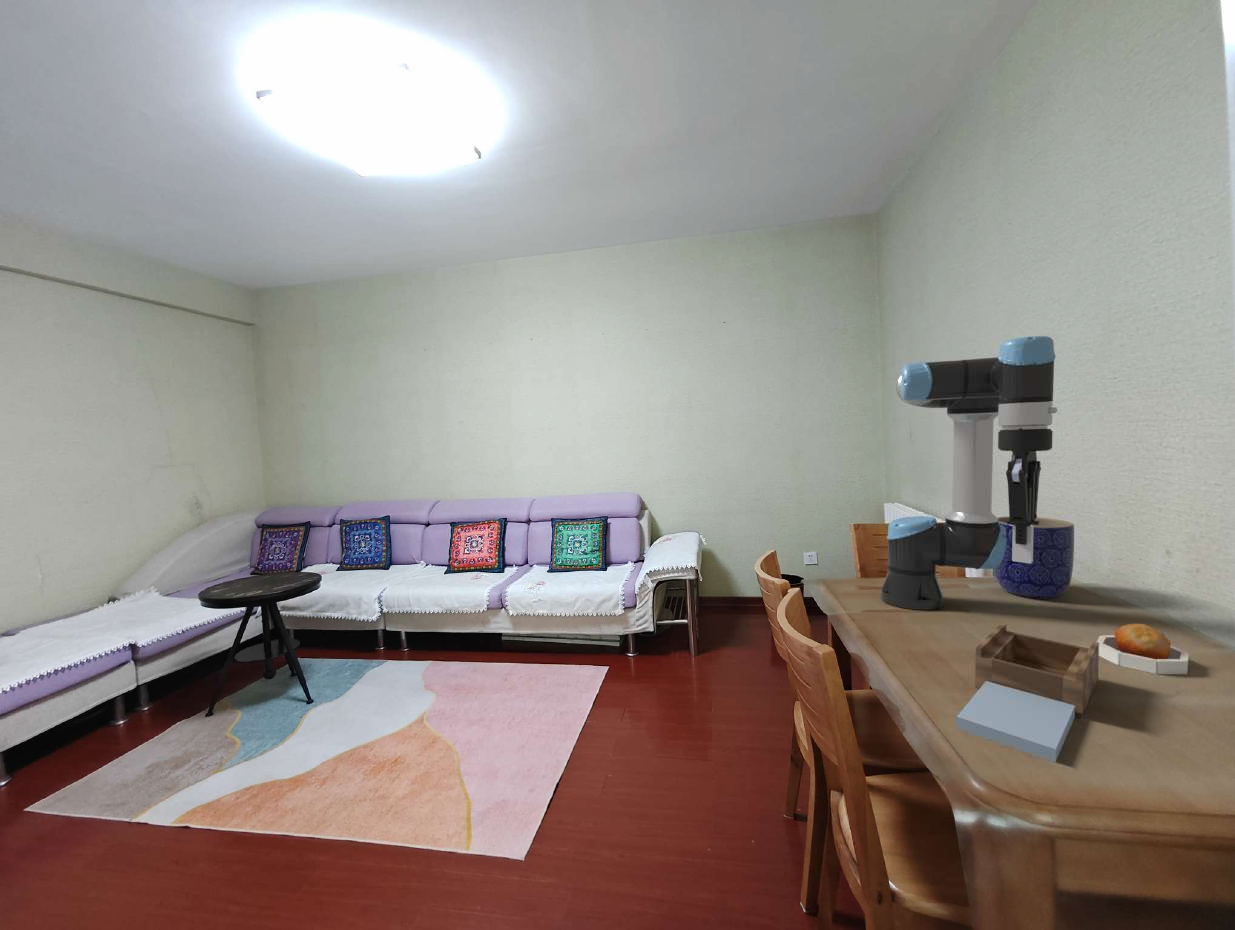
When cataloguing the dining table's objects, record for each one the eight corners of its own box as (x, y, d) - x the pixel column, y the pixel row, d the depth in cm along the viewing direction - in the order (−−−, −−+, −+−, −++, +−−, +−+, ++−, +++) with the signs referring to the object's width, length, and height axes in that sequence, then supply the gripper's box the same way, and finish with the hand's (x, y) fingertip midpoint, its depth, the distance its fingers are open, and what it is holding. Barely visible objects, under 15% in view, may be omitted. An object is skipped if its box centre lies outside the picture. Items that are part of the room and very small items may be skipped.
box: (1001, 658, 110) (1001, 622, 110) (1097, 681, 99) (1098, 642, 99) (975, 687, 98) (975, 647, 98) (1081, 718, 87) (1082, 673, 87)
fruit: (1148, 643, 112) (1161, 618, 108) (1168, 676, 106) (1184, 651, 101) (1100, 639, 115) (1112, 615, 110) (1117, 672, 108) (1130, 647, 104)
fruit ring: (1093, 659, 108) (1093, 647, 108) (1102, 641, 117) (1102, 630, 117) (1186, 680, 99) (1186, 667, 98) (1188, 659, 107) (1189, 647, 107)
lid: (985, 694, 97) (985, 680, 97) (1074, 720, 88) (1075, 705, 88) (956, 731, 86) (956, 716, 85) (1055, 766, 76) (1055, 749, 76)
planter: (1091, 602, 142) (1093, 526, 141) (1022, 604, 143) (1023, 528, 141) (1037, 582, 161) (1039, 515, 159) (976, 584, 161) (977, 517, 160)
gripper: (1043, 428, 85) (1041, 572, 87) (1059, 426, 94) (1056, 558, 96) (988, 429, 91) (986, 565, 93) (1008, 427, 100) (1006, 551, 101)
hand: (1022, 561), depth 94 cm, fingers closed
